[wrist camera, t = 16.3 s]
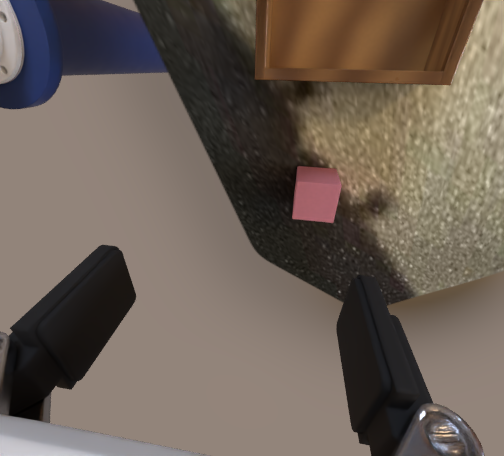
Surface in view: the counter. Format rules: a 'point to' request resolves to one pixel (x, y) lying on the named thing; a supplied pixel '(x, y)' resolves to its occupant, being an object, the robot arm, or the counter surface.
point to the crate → (362, 40)
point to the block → (316, 194)
